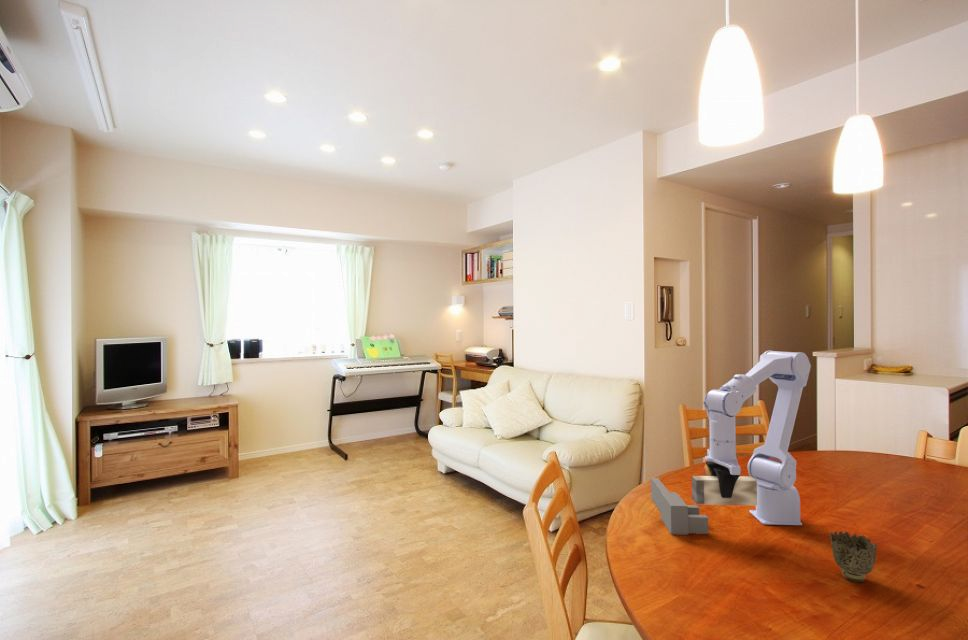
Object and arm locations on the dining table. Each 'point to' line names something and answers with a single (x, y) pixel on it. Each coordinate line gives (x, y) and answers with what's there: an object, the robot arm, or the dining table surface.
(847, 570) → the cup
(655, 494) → the grey stepped block
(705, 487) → the birch rail
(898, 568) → the dining table surface
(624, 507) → the dining table surface
